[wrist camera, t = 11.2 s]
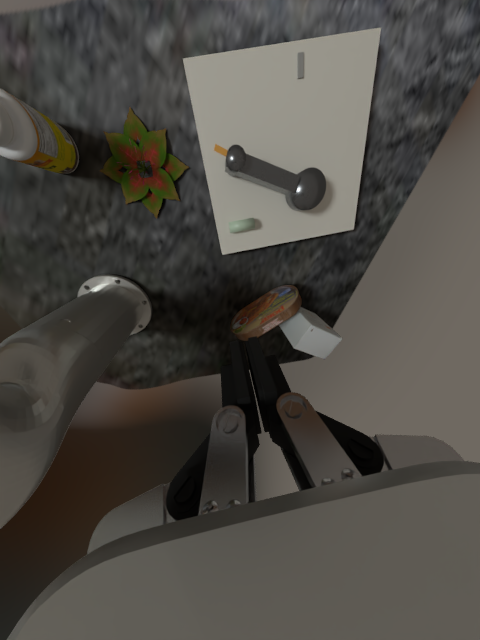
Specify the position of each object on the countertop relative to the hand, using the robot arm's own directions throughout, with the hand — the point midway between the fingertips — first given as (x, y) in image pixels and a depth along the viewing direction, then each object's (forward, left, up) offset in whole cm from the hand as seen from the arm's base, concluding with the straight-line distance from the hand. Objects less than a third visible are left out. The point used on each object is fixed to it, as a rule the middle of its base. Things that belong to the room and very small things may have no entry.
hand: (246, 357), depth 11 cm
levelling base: (+12, +13, -27) cm, 32 cm away
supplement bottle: (-19, +19, -27) cm, 38 cm away
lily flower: (-9, +15, -28) cm, 33 cm away
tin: (+6, -10, -27) cm, 30 cm away
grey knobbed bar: (+10, +11, -25) cm, 29 cm away
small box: (+14, -15, -27) cm, 34 cm away
